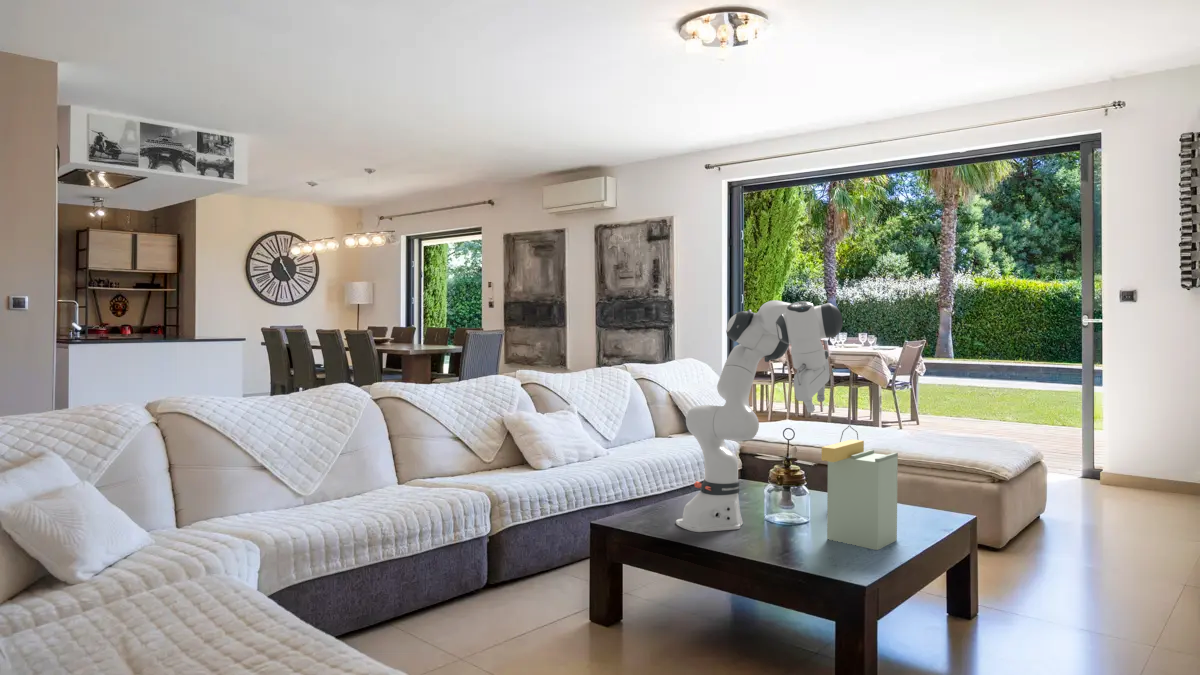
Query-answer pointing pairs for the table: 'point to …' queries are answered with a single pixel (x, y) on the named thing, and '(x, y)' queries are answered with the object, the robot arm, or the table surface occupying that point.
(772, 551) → the table surface
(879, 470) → the sage green slotted block
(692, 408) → the robot arm
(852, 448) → the bar
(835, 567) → the table surface
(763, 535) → the table surface
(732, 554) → the table surface
